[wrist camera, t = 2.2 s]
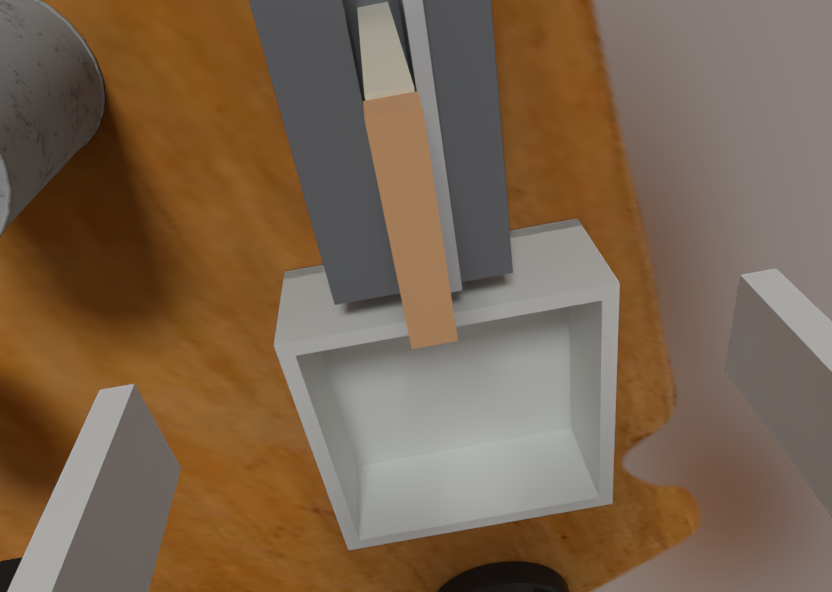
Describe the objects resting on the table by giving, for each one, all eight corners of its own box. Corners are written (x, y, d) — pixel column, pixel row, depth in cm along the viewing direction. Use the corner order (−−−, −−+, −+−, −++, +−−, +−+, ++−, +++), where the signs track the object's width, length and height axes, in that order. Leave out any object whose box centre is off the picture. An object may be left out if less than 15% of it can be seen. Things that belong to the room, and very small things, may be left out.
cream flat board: (414, 158, 35) (458, 340, 22) (386, 163, 35) (411, 349, 22) (388, 0, 31) (423, 108, 17) (355, 6, 31) (364, 119, 17)
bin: (579, 425, 54) (612, 503, 48) (347, 467, 54) (348, 550, 48) (577, 218, 43) (619, 283, 36) (284, 271, 43) (273, 345, 37)
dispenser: (486, 208, 42) (516, 280, 35) (336, 235, 42) (334, 313, 35) (448, -165, 30) (480, -173, 23) (242, -126, 31) (210, -122, 23)
